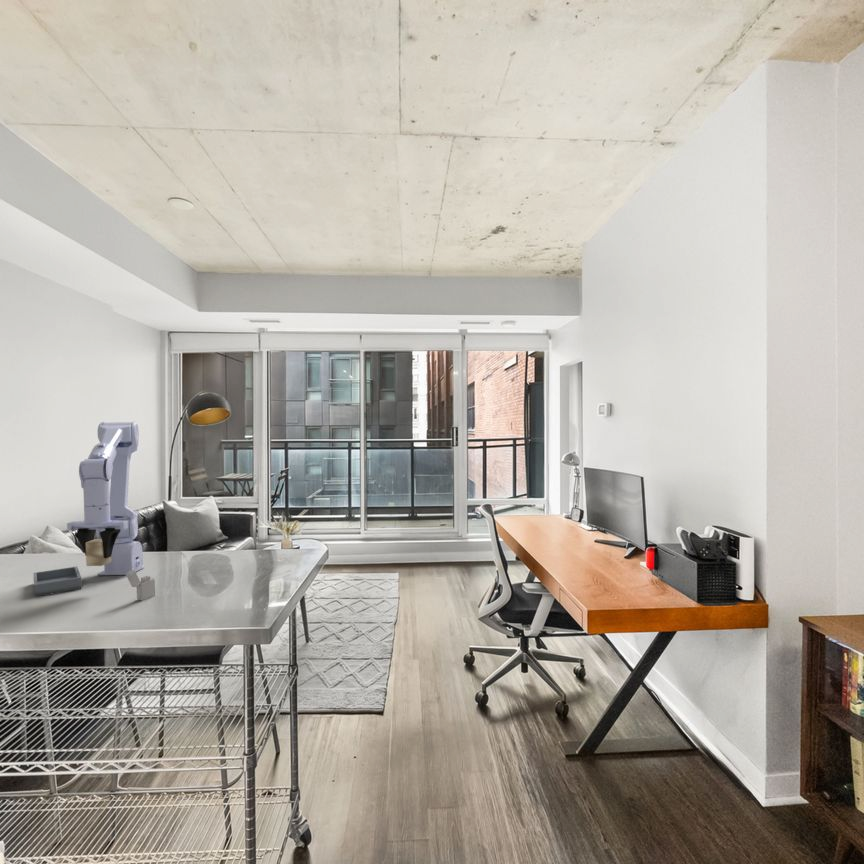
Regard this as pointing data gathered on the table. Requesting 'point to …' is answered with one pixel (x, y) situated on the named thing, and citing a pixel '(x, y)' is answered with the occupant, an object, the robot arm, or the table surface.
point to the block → (95, 553)
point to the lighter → (142, 585)
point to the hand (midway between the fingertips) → (98, 557)
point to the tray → (56, 581)
